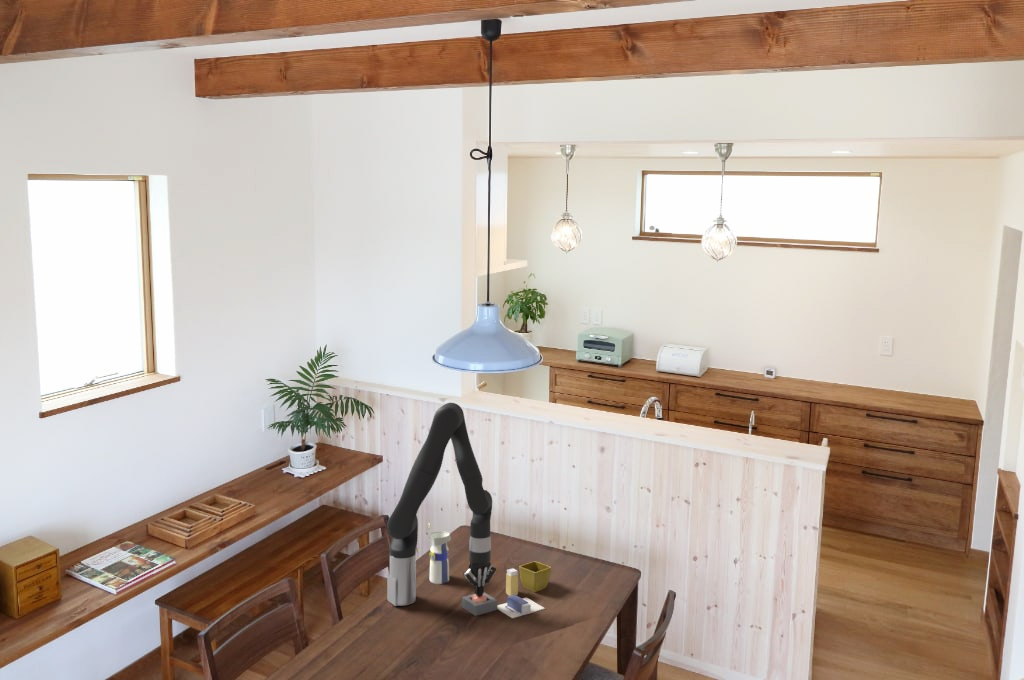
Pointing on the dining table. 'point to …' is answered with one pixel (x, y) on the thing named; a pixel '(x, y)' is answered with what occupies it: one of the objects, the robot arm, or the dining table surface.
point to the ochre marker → (512, 582)
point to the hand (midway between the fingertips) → (479, 595)
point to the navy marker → (518, 604)
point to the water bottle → (439, 556)
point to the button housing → (479, 605)
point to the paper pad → (514, 613)
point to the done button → (479, 598)
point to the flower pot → (534, 575)
